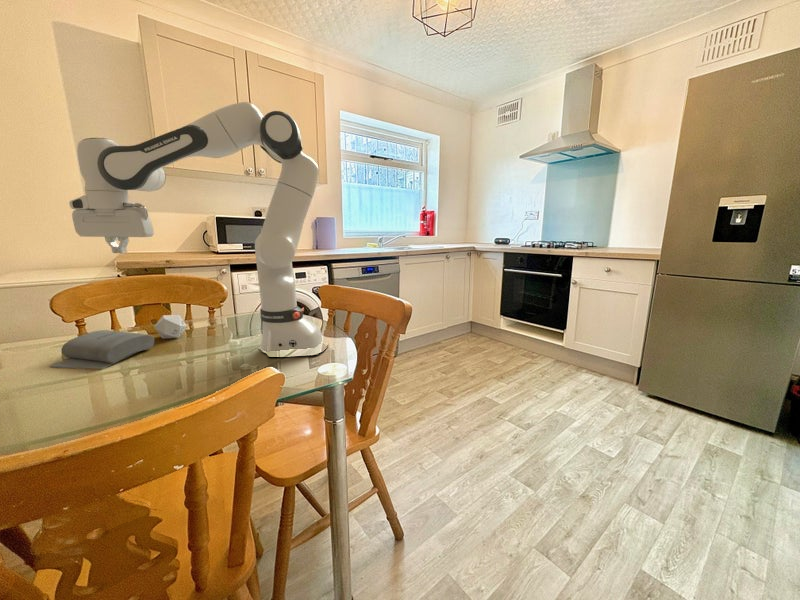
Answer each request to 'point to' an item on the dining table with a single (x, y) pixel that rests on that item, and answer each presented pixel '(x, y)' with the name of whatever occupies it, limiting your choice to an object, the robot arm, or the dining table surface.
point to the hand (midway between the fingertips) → (120, 253)
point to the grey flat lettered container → (106, 345)
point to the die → (170, 326)
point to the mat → (84, 363)
